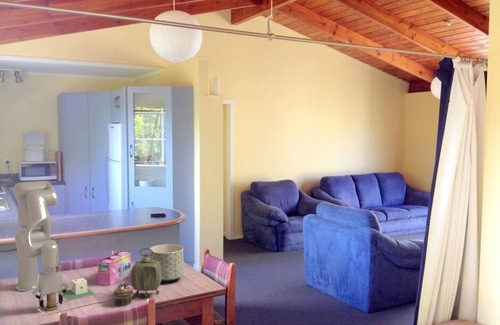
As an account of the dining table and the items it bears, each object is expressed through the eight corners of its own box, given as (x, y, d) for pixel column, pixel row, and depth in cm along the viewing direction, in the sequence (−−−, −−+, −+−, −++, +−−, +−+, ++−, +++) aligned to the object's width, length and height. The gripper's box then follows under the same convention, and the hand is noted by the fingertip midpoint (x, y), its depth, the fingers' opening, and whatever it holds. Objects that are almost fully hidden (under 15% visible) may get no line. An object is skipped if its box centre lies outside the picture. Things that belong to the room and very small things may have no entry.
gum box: (121, 272, 284) (121, 250, 283) (133, 273, 281) (132, 251, 280) (97, 285, 261) (97, 261, 260) (110, 286, 259) (109, 262, 257)
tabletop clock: (162, 292, 250) (161, 246, 248) (159, 298, 241) (158, 250, 239) (134, 292, 249) (133, 246, 247) (130, 299, 240) (129, 250, 238)
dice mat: (58, 292, 249) (58, 292, 249) (85, 287, 257) (85, 286, 257) (67, 300, 238) (67, 300, 238) (94, 294, 247) (94, 293, 247)
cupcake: (125, 298, 241) (124, 279, 240) (136, 302, 235) (136, 283, 234) (108, 303, 234) (108, 284, 233) (120, 308, 228) (120, 288, 227)
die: (71, 291, 250) (71, 280, 249) (83, 289, 254) (82, 278, 253) (75, 294, 245) (75, 283, 245) (87, 292, 249) (87, 280, 249)
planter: (187, 274, 279) (186, 244, 277) (179, 285, 260) (178, 253, 259) (155, 273, 281) (155, 243, 279) (145, 284, 262) (145, 252, 261)
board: (35, 308, 227) (35, 307, 227) (101, 293, 248) (101, 292, 248) (43, 316, 218) (43, 316, 218) (111, 300, 239) (111, 299, 239)
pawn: (44, 308, 226) (43, 287, 226) (55, 306, 230) (54, 285, 229) (47, 312, 222) (46, 290, 222) (58, 309, 226) (58, 287, 225)
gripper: (66, 264, 233) (67, 299, 234) (28, 271, 222) (29, 307, 223) (71, 267, 227) (72, 303, 229) (32, 275, 216) (34, 312, 217)
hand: (51, 305), depth 226 cm, fingers open, 7 cm apart
